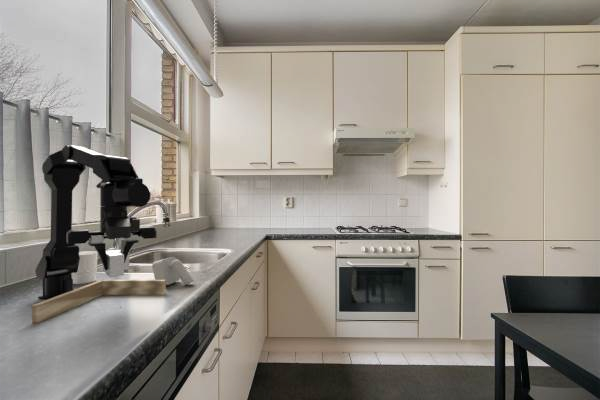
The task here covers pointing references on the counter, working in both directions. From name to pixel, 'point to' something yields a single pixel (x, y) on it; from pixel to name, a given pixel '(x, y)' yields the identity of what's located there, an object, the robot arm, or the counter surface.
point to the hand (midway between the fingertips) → (113, 268)
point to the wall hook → (171, 271)
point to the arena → (95, 295)
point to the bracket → (116, 263)
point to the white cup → (86, 268)
